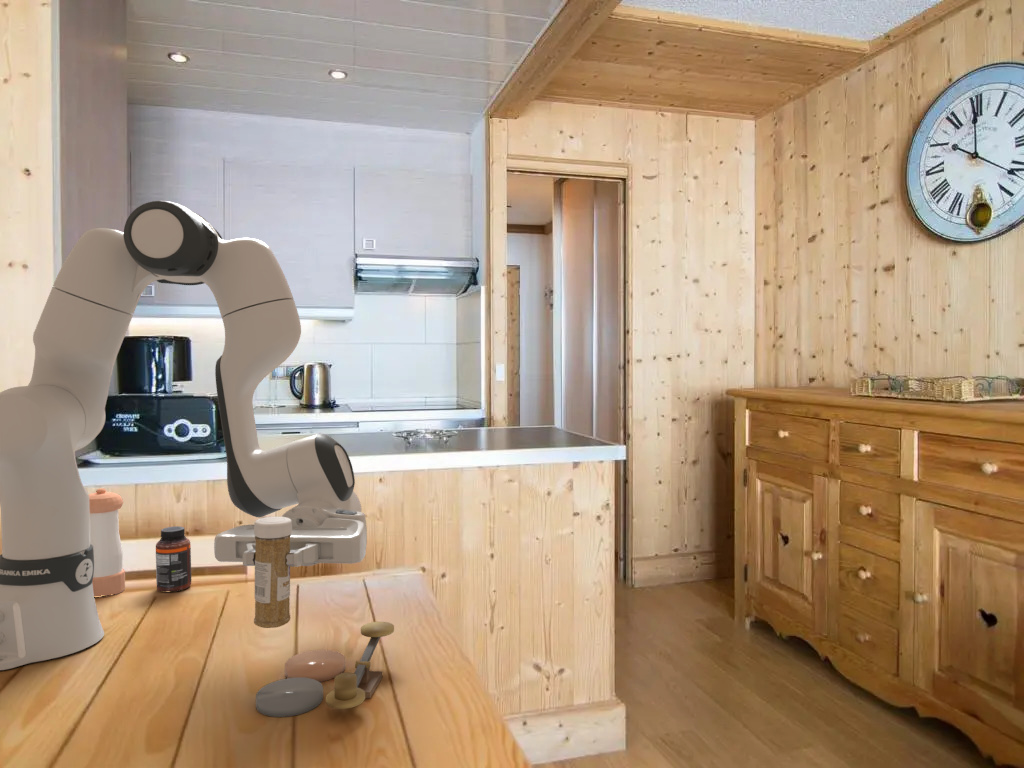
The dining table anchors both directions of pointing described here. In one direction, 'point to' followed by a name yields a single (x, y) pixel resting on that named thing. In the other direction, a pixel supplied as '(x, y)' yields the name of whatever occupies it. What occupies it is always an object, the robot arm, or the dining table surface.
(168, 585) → the supplement bottle
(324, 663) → the peach oval pebble
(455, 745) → the dining table surface
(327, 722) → the dining table surface
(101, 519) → the pepper shaker
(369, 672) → the balance
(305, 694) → the grey oval pebble
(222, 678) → the dining table surface
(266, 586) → the spice jar
